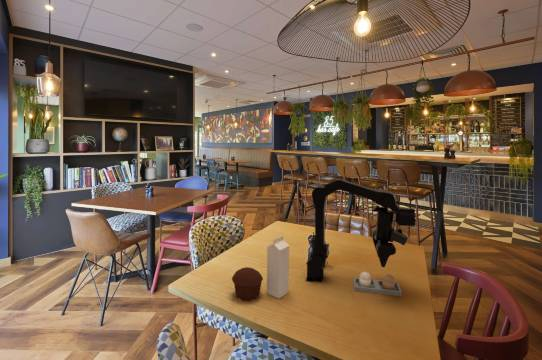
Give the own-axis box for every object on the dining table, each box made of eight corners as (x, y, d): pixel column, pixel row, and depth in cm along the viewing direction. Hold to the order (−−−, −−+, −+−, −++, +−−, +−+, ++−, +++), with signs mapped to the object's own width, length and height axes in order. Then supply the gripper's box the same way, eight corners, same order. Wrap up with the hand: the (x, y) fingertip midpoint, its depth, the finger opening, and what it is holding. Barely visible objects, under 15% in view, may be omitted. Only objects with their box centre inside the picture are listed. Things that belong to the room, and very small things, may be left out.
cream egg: (359, 289, 114) (360, 274, 113) (358, 283, 118) (359, 269, 117) (371, 290, 113) (372, 275, 112) (369, 284, 117) (370, 270, 117)
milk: (288, 292, 112) (290, 237, 109) (278, 299, 107) (280, 242, 104) (276, 287, 116) (277, 234, 113) (266, 293, 111) (267, 238, 108)
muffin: (267, 291, 113) (268, 267, 111) (254, 306, 103) (254, 279, 101) (241, 284, 118) (241, 261, 116) (226, 298, 108) (225, 272, 106)
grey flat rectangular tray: (354, 291, 113) (354, 287, 113) (353, 281, 121) (353, 277, 120) (401, 297, 109) (402, 292, 109) (397, 286, 117) (397, 282, 117)
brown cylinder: (383, 291, 112) (384, 276, 111) (381, 286, 116) (382, 271, 115) (395, 293, 111) (396, 278, 110) (393, 287, 116) (394, 272, 115)
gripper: (413, 233, 101) (409, 275, 103) (401, 218, 119) (398, 255, 121) (379, 230, 103) (376, 271, 106) (373, 216, 121) (370, 252, 124)
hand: (381, 261), depth 114 cm, fingers open, 9 cm apart
